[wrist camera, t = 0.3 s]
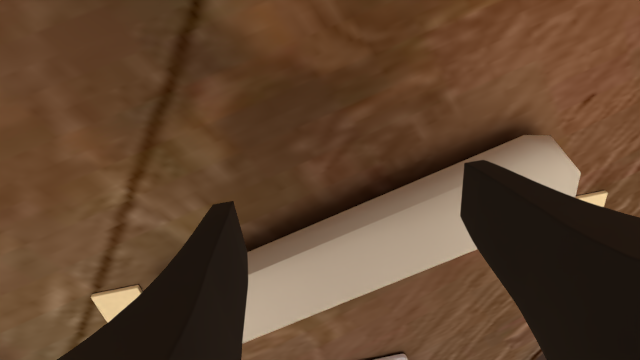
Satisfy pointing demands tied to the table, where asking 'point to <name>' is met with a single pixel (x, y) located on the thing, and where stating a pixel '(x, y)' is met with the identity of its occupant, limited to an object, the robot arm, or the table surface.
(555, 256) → the robot arm
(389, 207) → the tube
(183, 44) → the table surface
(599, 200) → the end marks
